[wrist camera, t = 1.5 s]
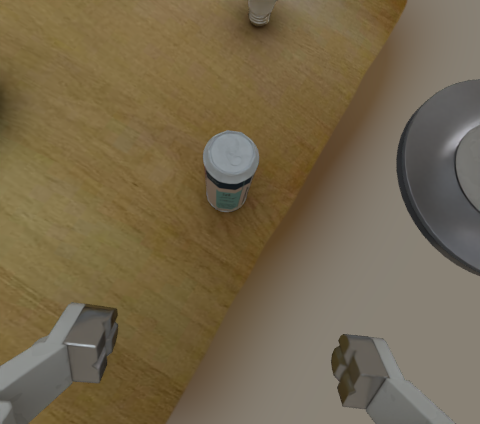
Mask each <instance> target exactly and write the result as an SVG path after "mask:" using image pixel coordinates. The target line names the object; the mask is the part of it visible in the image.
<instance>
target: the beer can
mask: <svg viewBox="0 0 480 424" xmlns="http://www.w3.org/2000/svg"><path fill="white" fill-rule="evenodd" d="M203 161H204V167H205V178H206V189H207V199H208V201H209V203H210V204H211V205H212V206H213V207H214V208H215V209H217V210H219V211H223V212H232V211H235V210H237V209H238V208H240V207H241V206H242V205H243V204H244V202H245V200H246V197H247V193H248V191H249V188H250V185H251V182H252V179H253V177H254V174H255V171H256V169H257V167H258V164H259V153H258V150H257V147H256V145H255V144H254V143H253V141H252V140H251V139H250V138H248V137H247V136H246V135H244V134H243V133H242V132H235V131H228V130H227V131H225V132H222V133H219V134H217V135H215V136H214V137H212V138H211V139H210V140H209V141H208V143H207V145H206V147H205V149H204V153H203Z"/></svg>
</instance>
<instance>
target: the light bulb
mask: <svg viewBox="0 0 480 424" xmlns="http://www.w3.org/2000/svg"><path fill="white" fill-rule="evenodd" d="M276 1H277V0H248V5H249V13H248V16H249V20H250V22H251V23H252V24H254V25H256V26H263V25H266V24H267V23H268V22H269V20H270V14H271V11H272V10H273V8H274V5H275V2H276Z"/></svg>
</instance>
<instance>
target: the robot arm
mask: <svg viewBox="0 0 480 424" xmlns="http://www.w3.org/2000/svg"><path fill="white" fill-rule="evenodd" d="M456 171H457V176H458V180H459V183H460V185H461V187H462V189H463V191H464V193H465V195H466V196H467V198H468V199H469V201H470V202H471V203H472V204H473V205H474V206H475V208H476V209H477V210H479V211H480V125H478V126H476V127H474V128H473V129H471V130H470V131H469V132H468V133H467V134H466V135H465V136H464V137H463V139H462V140H461V142H460V144H459V147H458V150H457V154H456ZM117 316H118V313H117V309H116V308H111V307H104V306H97V305H90V304H82V303H74V302H71V303H70V304H69V305H68V306H67V307H66V309H65V310H64V312H63V314H62V315H61V317H60V318H59V320H58V321H57V323H56V324H55V326H54V327H53V329H52V331H51V332H50V334H49V335H48V337H47V338H46V340H45V341H44V342H38V343H37V344H35V345H33V346H32V347H30V348H29V349H27V350H25V351H24V352H22V353H21V354H19V355H17V356H16V357H14V358H13V359H11V360H9V361H8V362H6V363H5V364H3V365H1V366H0V424H28V423H29V422H30V421H31V420H32V419H33V418H35V417H36V416H37V415H38V414H39V413H40V412H41V411H42V410H43V409H44V408H46V407H47V406H48V405H49V404H50V403H51V402H52V401H53V400H54V399H55V398H57V397H58V396H59V395H60V394H61V393H62V392H63V391H64V390H65V389H66V388H68V387H69V386H70V385H71V384H72V381H74V382H89V383H100V381H101V378H102V376H103V373H104V371H105V368H106V366H107V356H108V355H109V354H111V353H112V351H113V348H114V346H115V343H116V339H117V334H118V324H117V323H116V322H115V321H116V318H117ZM339 344H340V346H338V347H336V348H335V349H334V351H333V354H332V360H331V364H332V370H333V374H334V376H335V377H336V378H337V379H338V381H339V385H338V387H337V389H338V392H339V395H340V399H341V402H342V406H343V407H352V408H359V409H366V412H367V413H368V414H369V415H370V417H371V418H372V420H373V421H374V422H375V423H376V424H456V423H455V422H454V421H453V420H452V419H450V418H449V417H448V416H447V415H446V414H445V413H444V412H443V411H442V410H441V409H440V408H438V407H437V406H436V405H435V404H434V403H433V402H432V401H431V400H430V399H429V398H427V397H426V396H425V395H424V394H423V393H422V392H421V391H420V390H419V389H418V388H417V387H415V386H414V385H413V384H412V383H411V382H410V381H408V380H405V379H404V377H403V375H402V373H401V371H400V369H399V367H398V365H397V363H396V361H395V359H394V357H393V355H392V353H391V351H390V349H389V347H388V344H387V343H386V341H385V340H384V339H383V338H374V337H367V336H357V335H347V334H343V335H341V336H340V338H339Z"/></svg>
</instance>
